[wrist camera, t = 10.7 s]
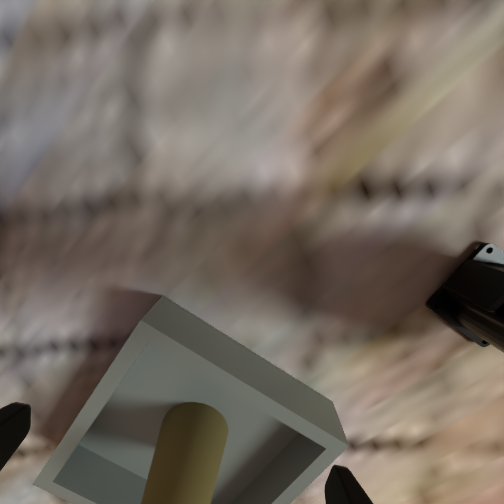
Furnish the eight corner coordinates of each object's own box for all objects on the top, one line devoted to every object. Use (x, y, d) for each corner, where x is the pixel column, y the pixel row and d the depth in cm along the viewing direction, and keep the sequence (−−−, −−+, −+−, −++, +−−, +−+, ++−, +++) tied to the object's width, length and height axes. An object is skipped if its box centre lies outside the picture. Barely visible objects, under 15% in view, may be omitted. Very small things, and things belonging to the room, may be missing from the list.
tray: (332, 402, 22) (349, 446, 18) (223, 516, 26) (218, 573, 22) (162, 295, 20) (140, 319, 16) (69, 436, 24) (32, 484, 20)
